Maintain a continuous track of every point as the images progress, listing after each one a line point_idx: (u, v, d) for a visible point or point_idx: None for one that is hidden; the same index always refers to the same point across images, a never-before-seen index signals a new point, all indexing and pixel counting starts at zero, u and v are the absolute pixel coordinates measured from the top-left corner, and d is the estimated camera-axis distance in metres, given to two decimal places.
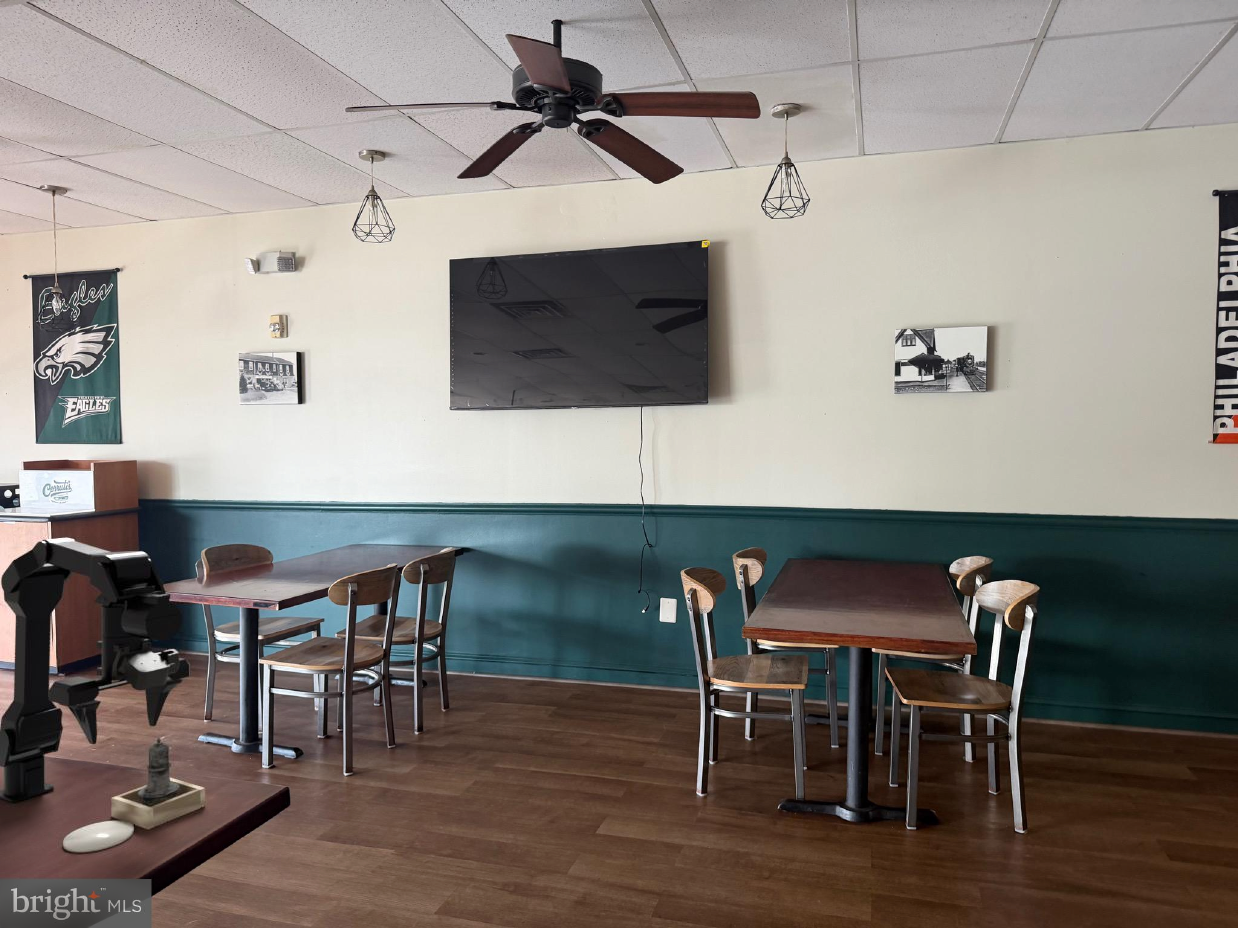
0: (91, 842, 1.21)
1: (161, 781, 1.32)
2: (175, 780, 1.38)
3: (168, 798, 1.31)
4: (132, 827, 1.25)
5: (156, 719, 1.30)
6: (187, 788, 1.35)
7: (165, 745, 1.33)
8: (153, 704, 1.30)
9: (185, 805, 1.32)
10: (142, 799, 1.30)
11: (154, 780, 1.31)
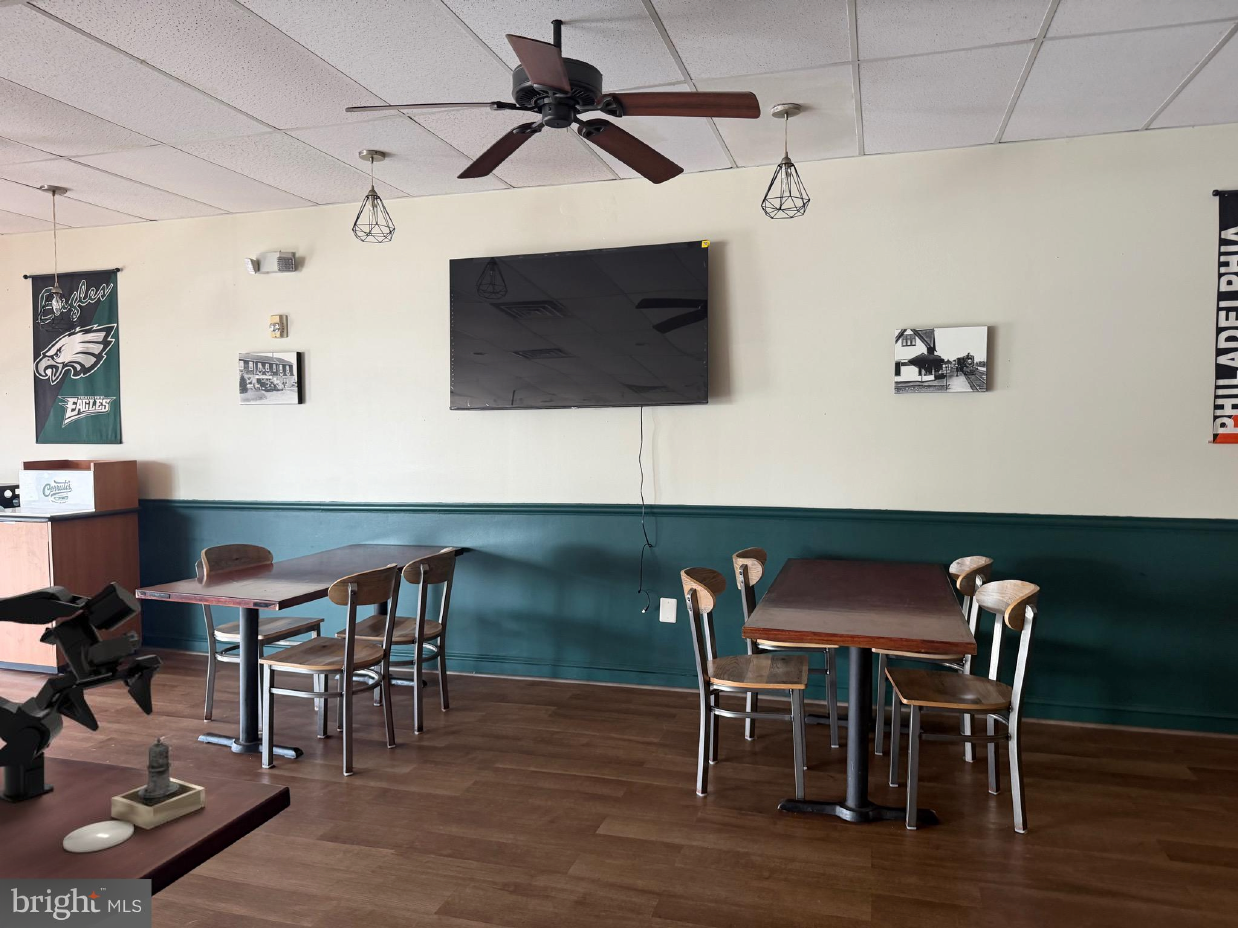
0: (91, 842, 1.21)
1: (161, 781, 1.32)
2: (175, 780, 1.38)
3: (168, 798, 1.31)
4: (132, 827, 1.25)
5: (150, 705, 1.40)
6: (187, 788, 1.35)
7: (165, 745, 1.33)
8: (141, 697, 1.41)
9: (185, 805, 1.32)
10: (142, 799, 1.30)
11: (154, 780, 1.31)
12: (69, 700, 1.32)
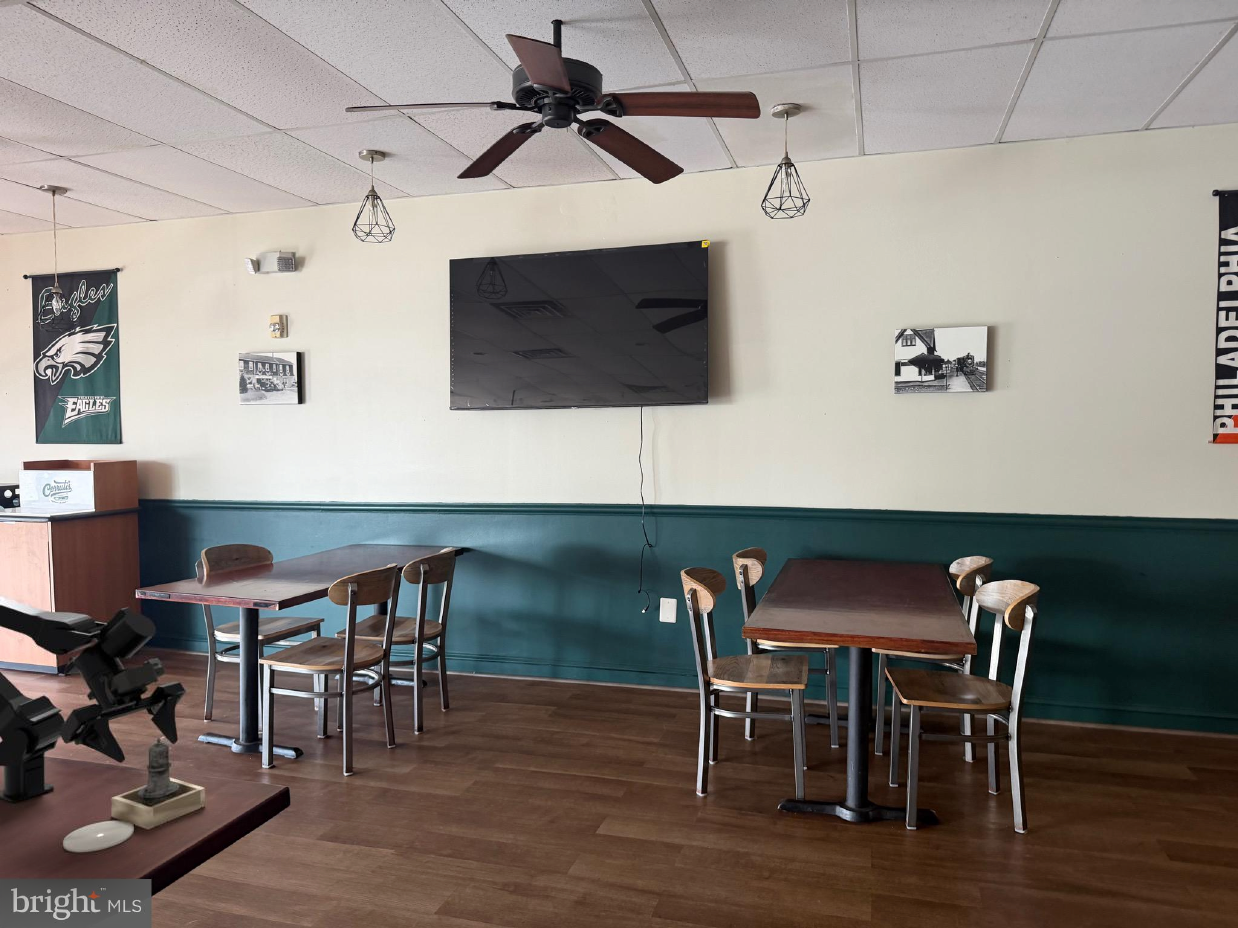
0: (91, 842, 1.21)
1: (161, 781, 1.32)
2: (175, 780, 1.38)
3: (168, 798, 1.31)
4: (132, 827, 1.25)
5: (175, 734, 1.38)
6: (187, 788, 1.35)
7: (165, 745, 1.33)
8: (166, 725, 1.39)
9: (185, 805, 1.32)
10: (142, 799, 1.30)
11: (154, 780, 1.31)
12: (94, 731, 1.30)
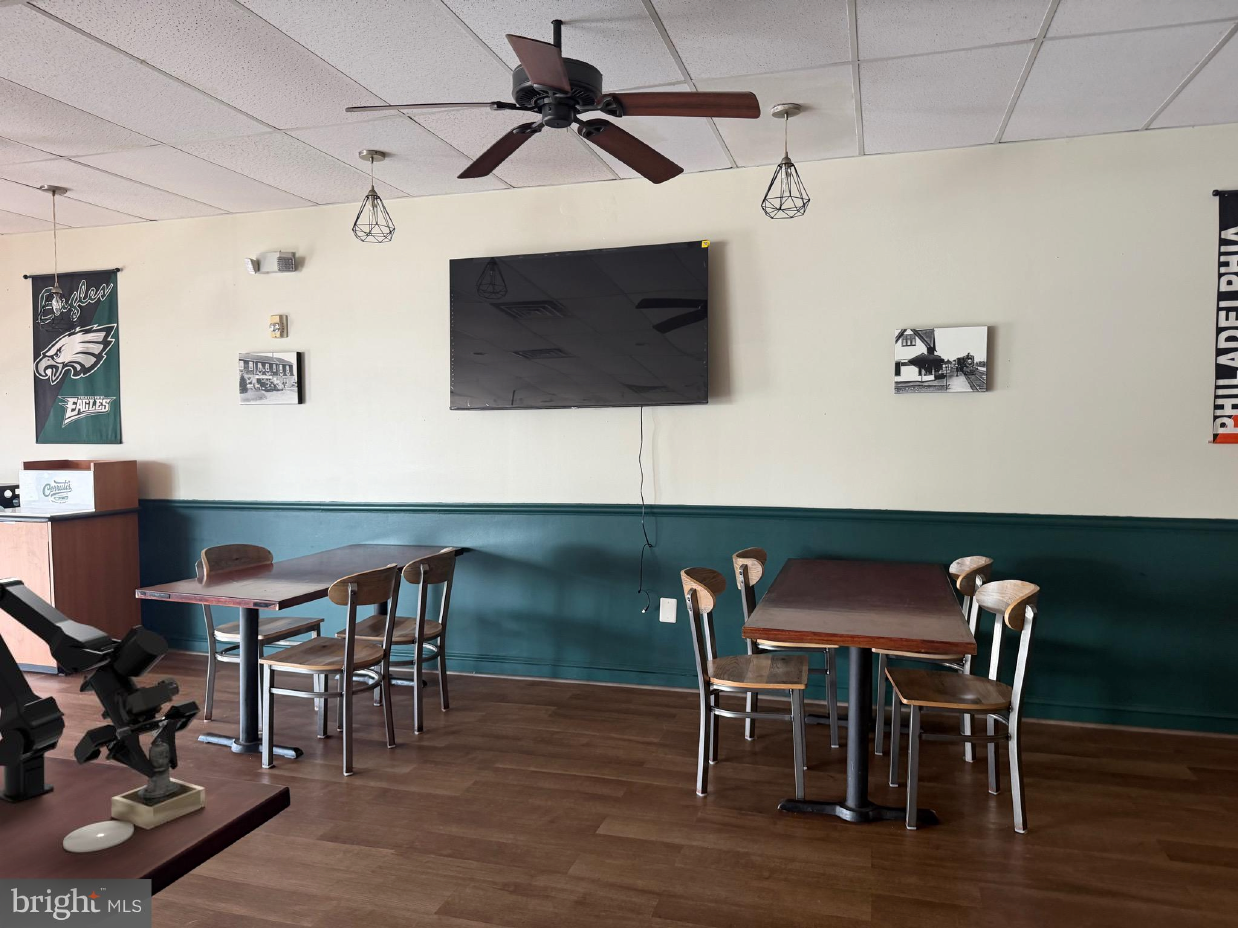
0: (91, 842, 1.21)
1: (161, 780, 1.32)
2: (175, 780, 1.38)
3: (168, 798, 1.31)
4: (132, 827, 1.25)
5: (175, 759, 1.34)
6: (187, 788, 1.35)
7: (165, 745, 1.33)
8: None
9: (185, 805, 1.32)
10: (142, 799, 1.30)
11: (154, 780, 1.31)
12: (125, 747, 1.31)
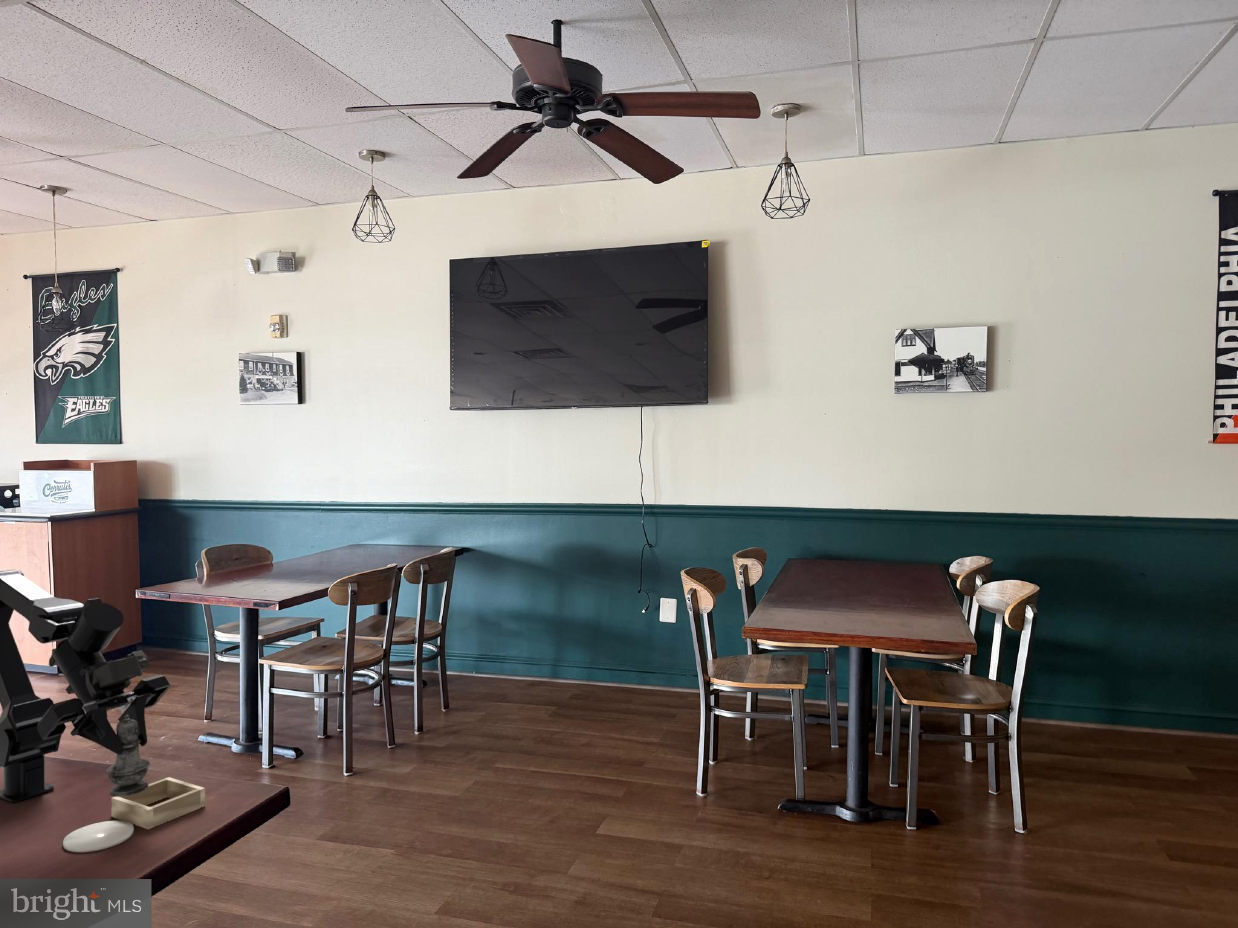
0: (91, 842, 1.21)
1: (131, 758, 1.27)
2: (175, 780, 1.38)
3: (138, 776, 1.27)
4: (132, 827, 1.25)
5: (145, 735, 1.29)
6: (187, 788, 1.35)
7: (133, 721, 1.27)
8: None
9: (185, 805, 1.32)
10: (111, 777, 1.26)
11: (123, 758, 1.26)
12: (91, 722, 1.25)
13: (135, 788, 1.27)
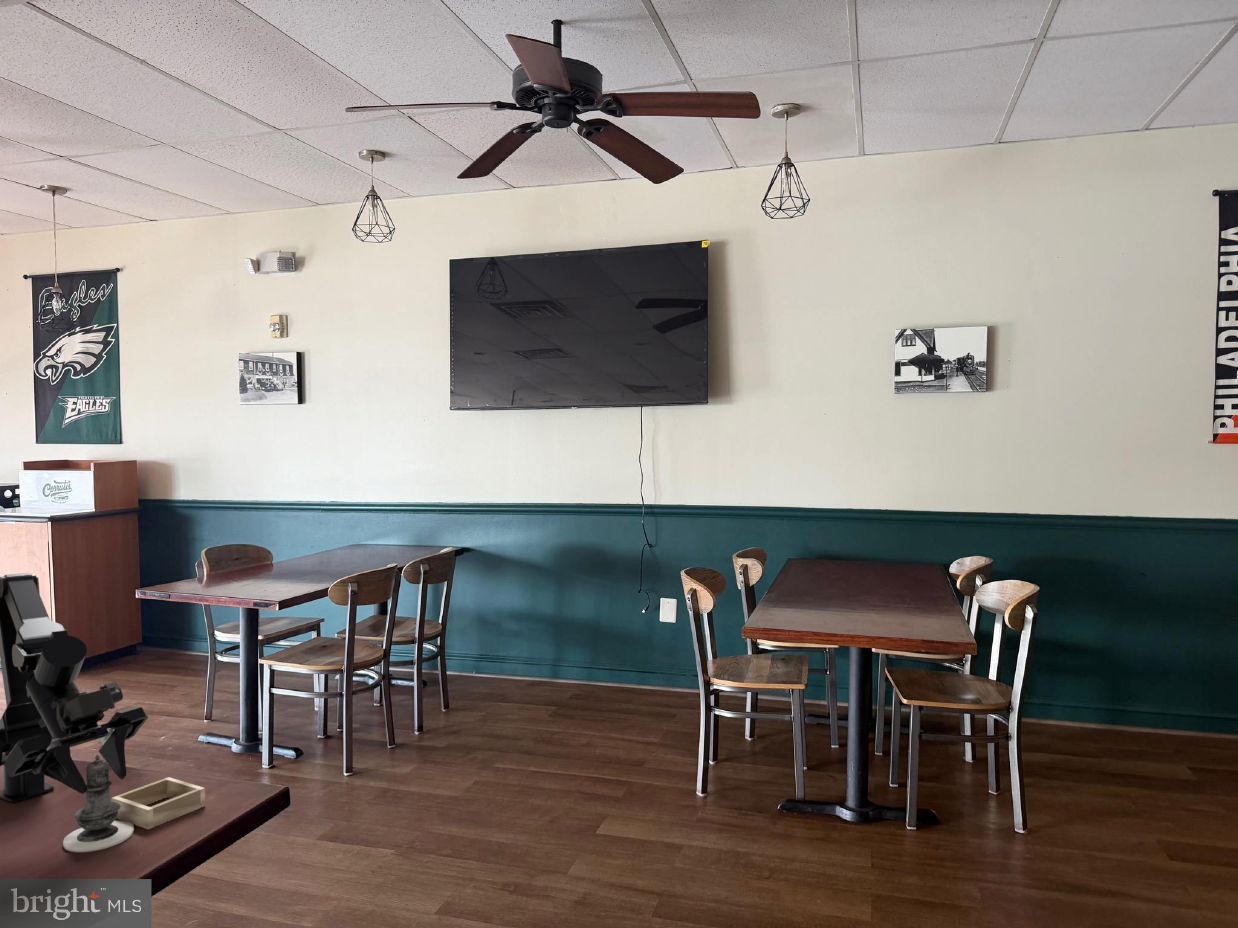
0: (91, 842, 1.21)
1: (100, 801, 1.22)
2: (175, 780, 1.38)
3: (106, 820, 1.22)
4: (132, 827, 1.25)
5: (124, 768, 1.26)
6: (187, 788, 1.35)
7: (104, 763, 1.23)
8: (114, 758, 1.26)
9: (185, 805, 1.32)
10: (78, 821, 1.21)
11: (91, 801, 1.22)
12: (54, 759, 1.20)
13: (103, 833, 1.22)
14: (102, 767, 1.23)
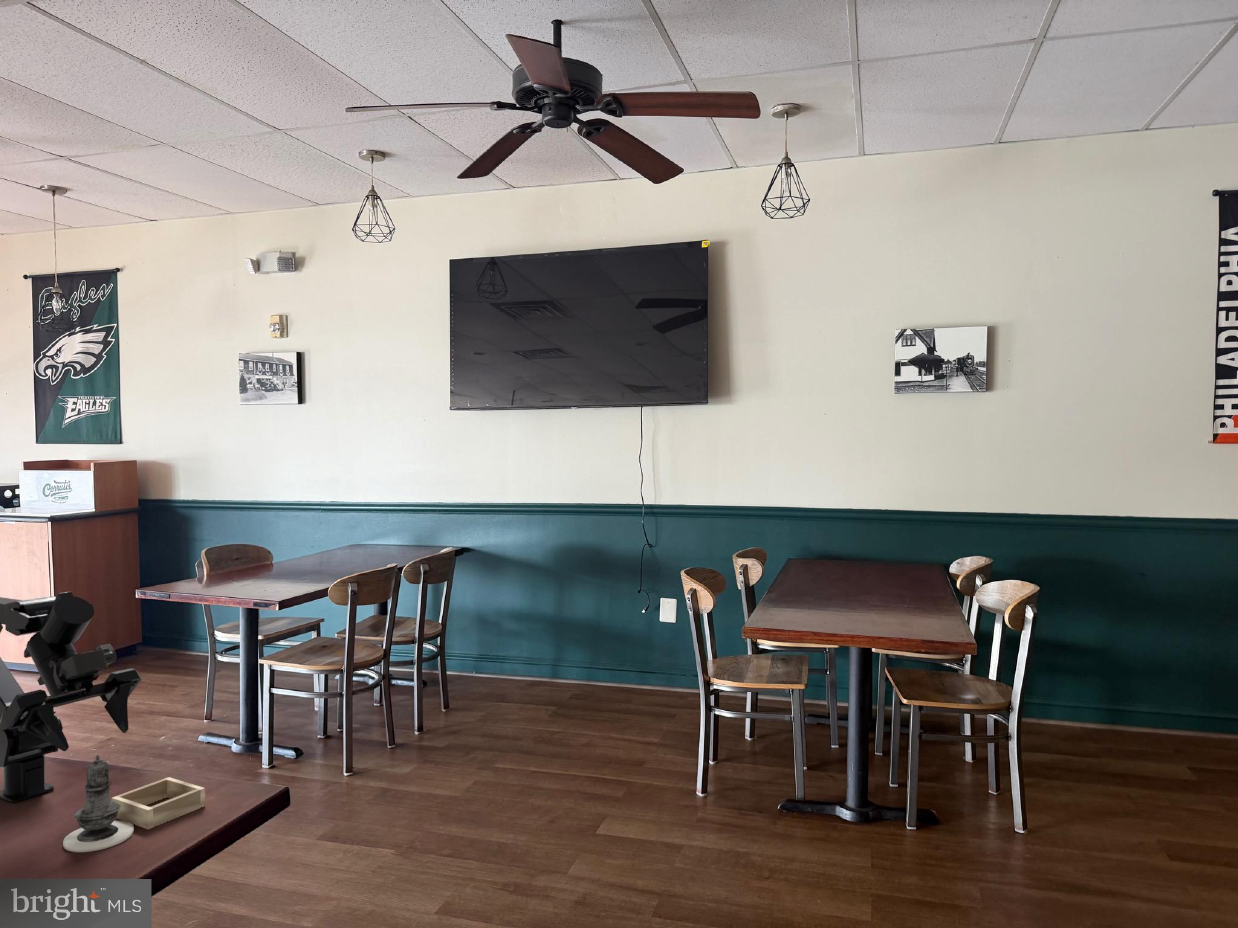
0: (91, 842, 1.21)
1: (100, 801, 1.22)
2: (175, 780, 1.38)
3: (106, 820, 1.22)
4: (132, 827, 1.25)
5: (126, 722, 1.34)
6: (187, 788, 1.35)
7: (104, 763, 1.23)
8: (117, 713, 1.35)
9: (185, 805, 1.32)
10: (78, 821, 1.21)
11: (91, 801, 1.22)
12: (38, 718, 1.26)
13: (103, 833, 1.22)
14: (102, 767, 1.23)
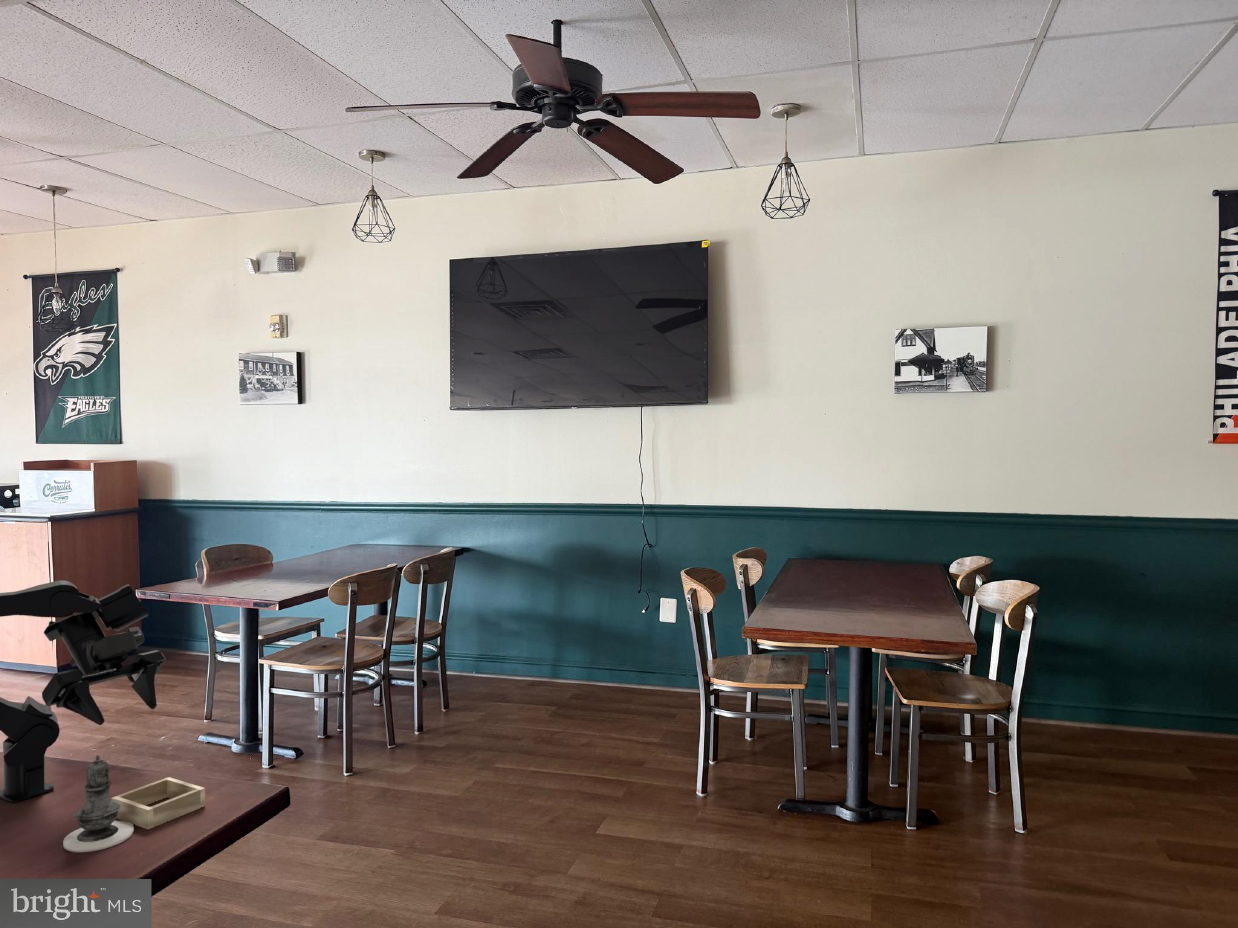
0: (91, 842, 1.21)
1: (100, 801, 1.22)
2: (175, 780, 1.38)
3: (106, 820, 1.22)
4: (132, 827, 1.25)
5: (154, 700, 1.43)
6: (187, 788, 1.35)
7: (104, 763, 1.23)
8: (145, 691, 1.44)
9: (185, 805, 1.32)
10: (79, 821, 1.21)
11: (91, 801, 1.22)
12: (75, 695, 1.35)
13: (103, 833, 1.22)
14: (102, 767, 1.23)
